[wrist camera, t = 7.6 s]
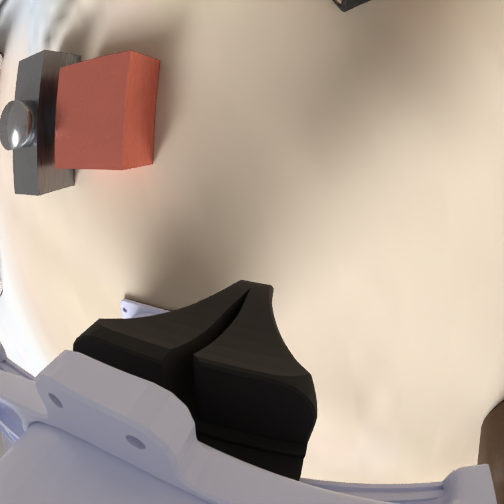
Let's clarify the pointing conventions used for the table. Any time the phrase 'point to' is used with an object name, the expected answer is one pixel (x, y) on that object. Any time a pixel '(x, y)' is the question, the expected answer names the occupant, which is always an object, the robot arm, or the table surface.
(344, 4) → the ammunition clip
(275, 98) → the table surface
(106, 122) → the red block
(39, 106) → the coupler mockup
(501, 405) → the plant pot
